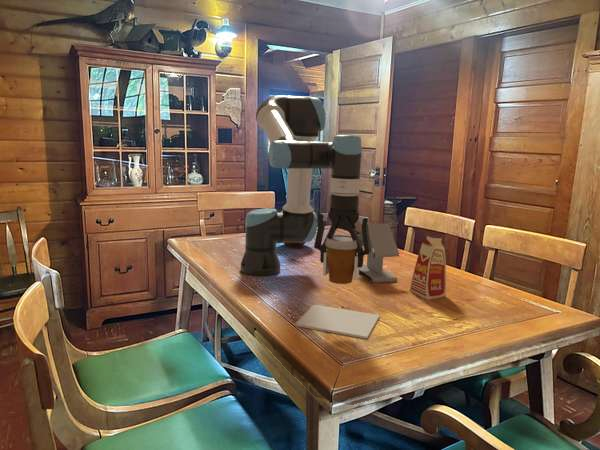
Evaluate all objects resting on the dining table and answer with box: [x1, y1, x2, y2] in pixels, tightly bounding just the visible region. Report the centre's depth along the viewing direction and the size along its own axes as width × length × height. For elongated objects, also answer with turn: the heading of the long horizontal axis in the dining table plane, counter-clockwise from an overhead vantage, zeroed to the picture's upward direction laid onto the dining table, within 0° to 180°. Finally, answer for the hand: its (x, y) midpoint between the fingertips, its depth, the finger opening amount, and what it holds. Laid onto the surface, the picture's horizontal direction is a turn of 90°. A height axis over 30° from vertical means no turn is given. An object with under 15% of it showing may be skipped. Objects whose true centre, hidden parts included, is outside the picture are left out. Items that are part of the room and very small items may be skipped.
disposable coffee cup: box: [325, 234, 358, 285], centre depth 126 cm, size 10×10×12 cm
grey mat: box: [294, 304, 380, 340], centre depth 129 cm, size 20×16×1 cm
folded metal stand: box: [358, 222, 400, 284], centre depth 172 cm, size 18×10×20 cm, turn 17°
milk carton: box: [409, 235, 447, 301], centre depth 153 cm, size 9×9×20 cm
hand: (340, 276), depth 127 cm, fingers closed on disposable coffee cup, 8 cm apart
